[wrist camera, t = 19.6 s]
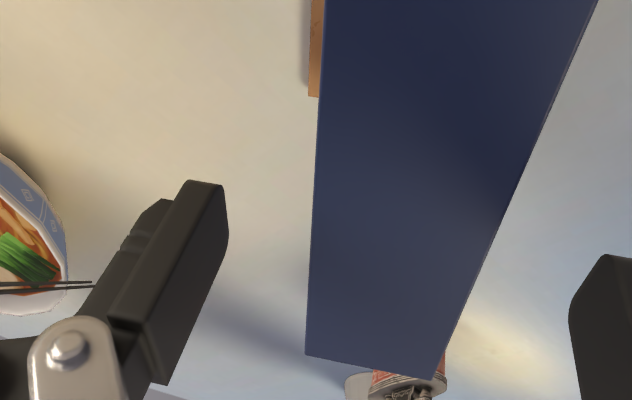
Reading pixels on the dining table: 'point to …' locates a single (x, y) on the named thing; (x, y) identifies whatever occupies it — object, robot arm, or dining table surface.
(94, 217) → the dining table surface
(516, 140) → the book
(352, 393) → the lava lamp
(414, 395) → the lighter
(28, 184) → the ramen bowl
